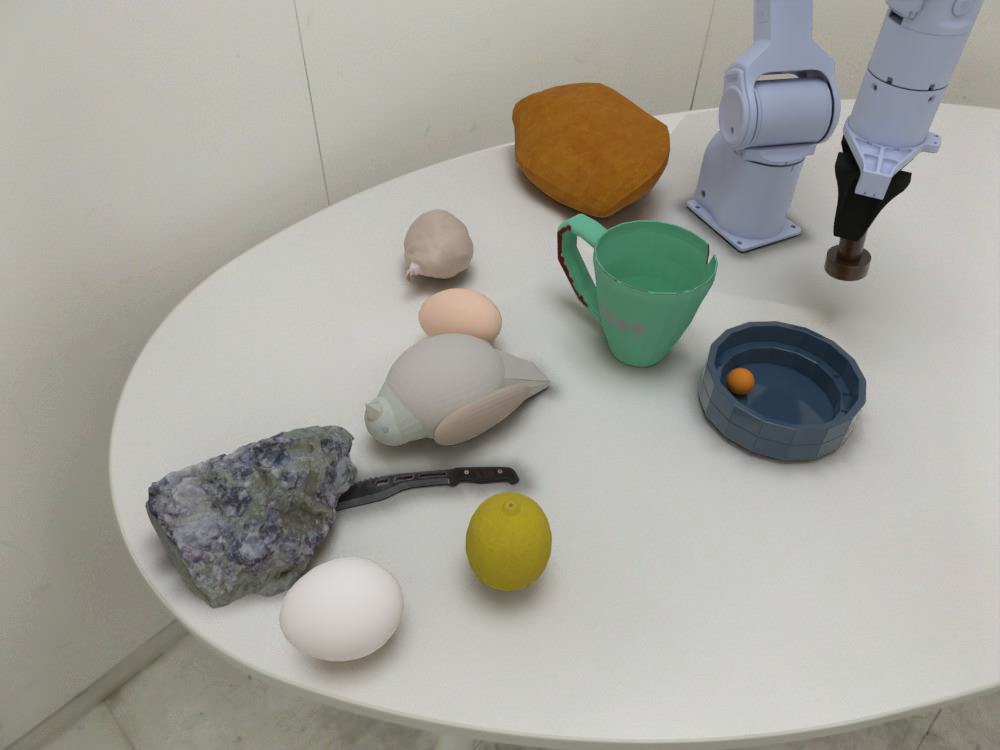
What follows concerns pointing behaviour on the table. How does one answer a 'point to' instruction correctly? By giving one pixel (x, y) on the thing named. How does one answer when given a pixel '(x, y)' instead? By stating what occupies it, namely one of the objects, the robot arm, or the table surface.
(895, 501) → the table surface
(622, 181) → the bread
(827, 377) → the bowl
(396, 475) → the knife
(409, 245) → the garlic bulb
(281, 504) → the mineral rock
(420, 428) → the decorative bird
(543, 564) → the lemon
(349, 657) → the egg
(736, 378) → the ball
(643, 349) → the mug
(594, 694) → the table surface
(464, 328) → the egg
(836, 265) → the coffee tamper
